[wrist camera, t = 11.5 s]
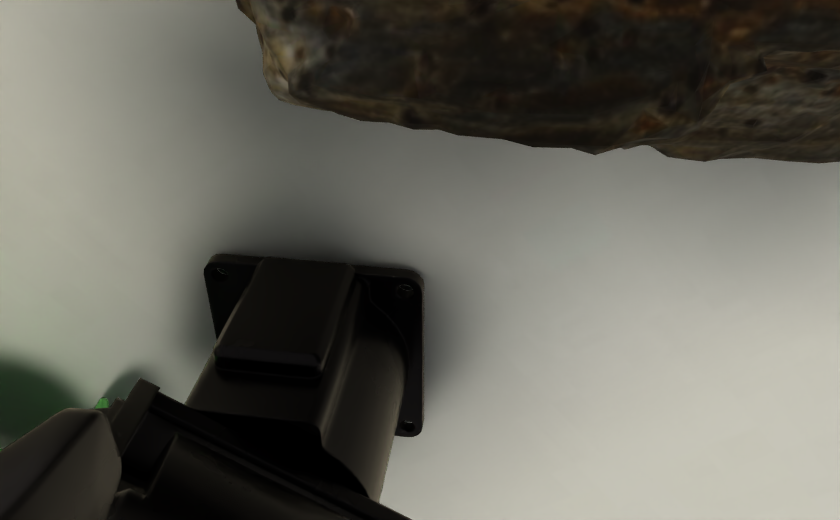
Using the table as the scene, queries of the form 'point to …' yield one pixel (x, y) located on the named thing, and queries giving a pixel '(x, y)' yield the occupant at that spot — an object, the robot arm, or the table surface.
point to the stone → (571, 71)
